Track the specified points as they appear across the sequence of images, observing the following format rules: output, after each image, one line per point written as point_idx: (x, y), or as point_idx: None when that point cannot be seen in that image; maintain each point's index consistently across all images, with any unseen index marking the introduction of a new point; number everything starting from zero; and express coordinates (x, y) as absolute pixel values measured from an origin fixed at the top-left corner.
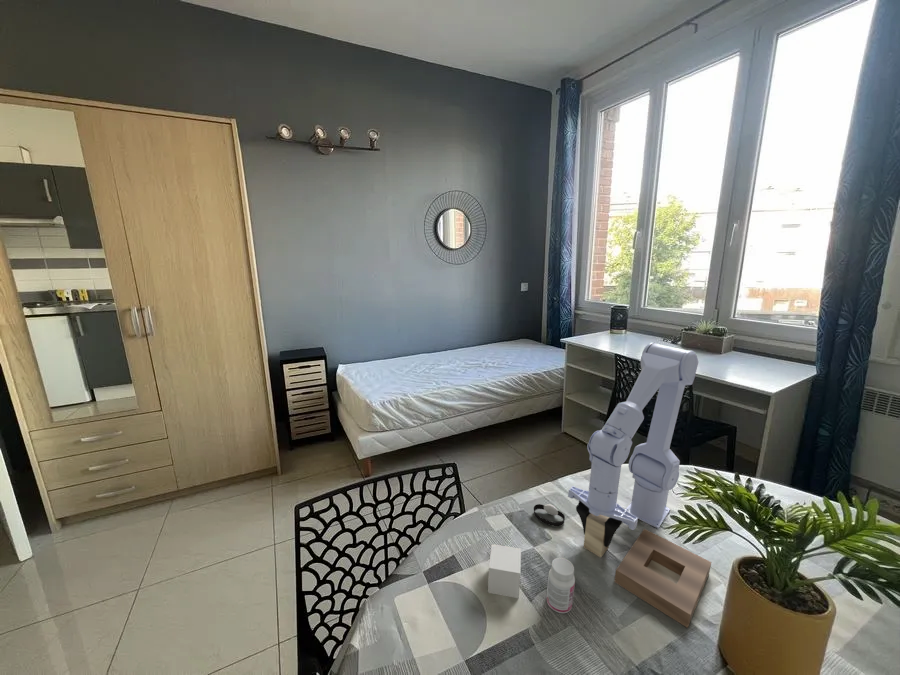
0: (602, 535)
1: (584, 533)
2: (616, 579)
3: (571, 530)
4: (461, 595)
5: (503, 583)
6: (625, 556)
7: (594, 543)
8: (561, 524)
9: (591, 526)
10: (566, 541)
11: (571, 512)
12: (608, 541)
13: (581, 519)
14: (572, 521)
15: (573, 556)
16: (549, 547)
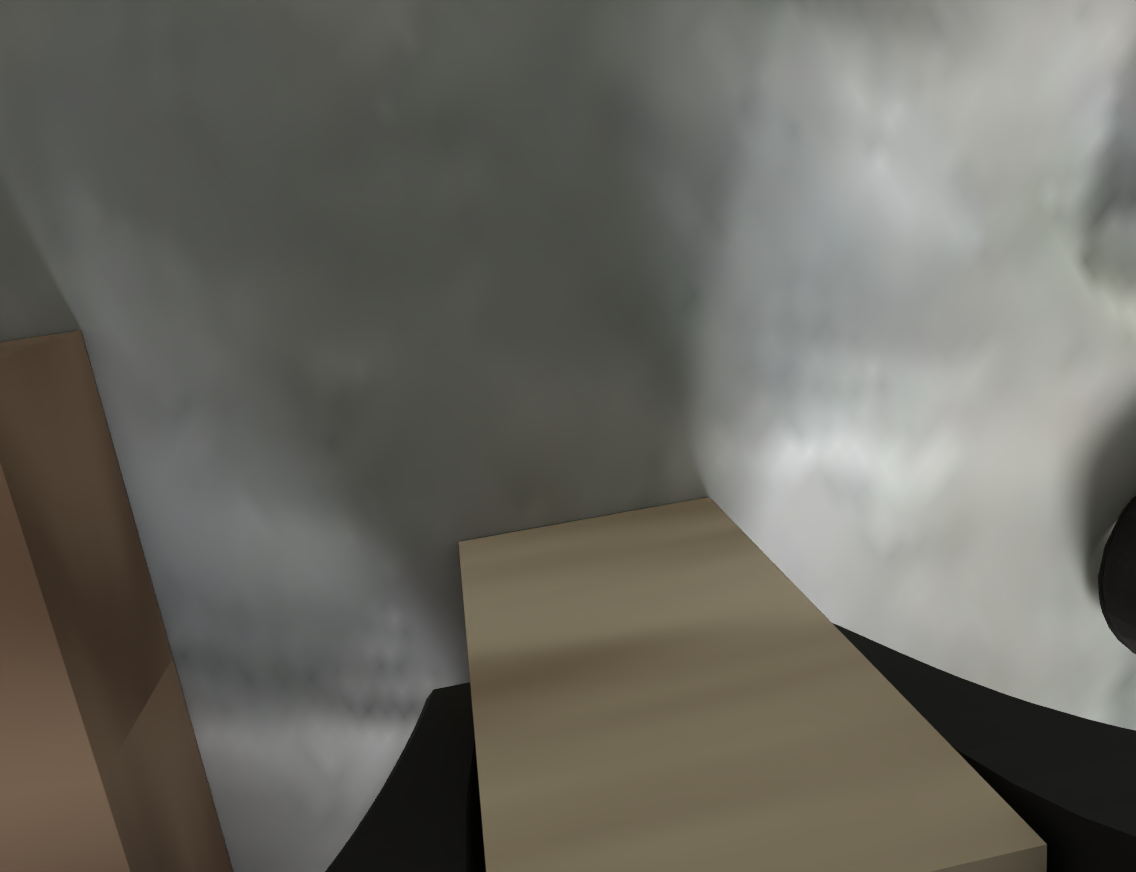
0: (502, 752)
1: None
2: (24, 343)
3: (967, 604)
4: None
5: None
6: (87, 763)
7: (598, 591)
8: (1117, 562)
9: (790, 741)
10: (914, 389)
11: None
12: (399, 762)
13: (1057, 720)
14: None
15: (706, 239)
16: (1019, 85)
